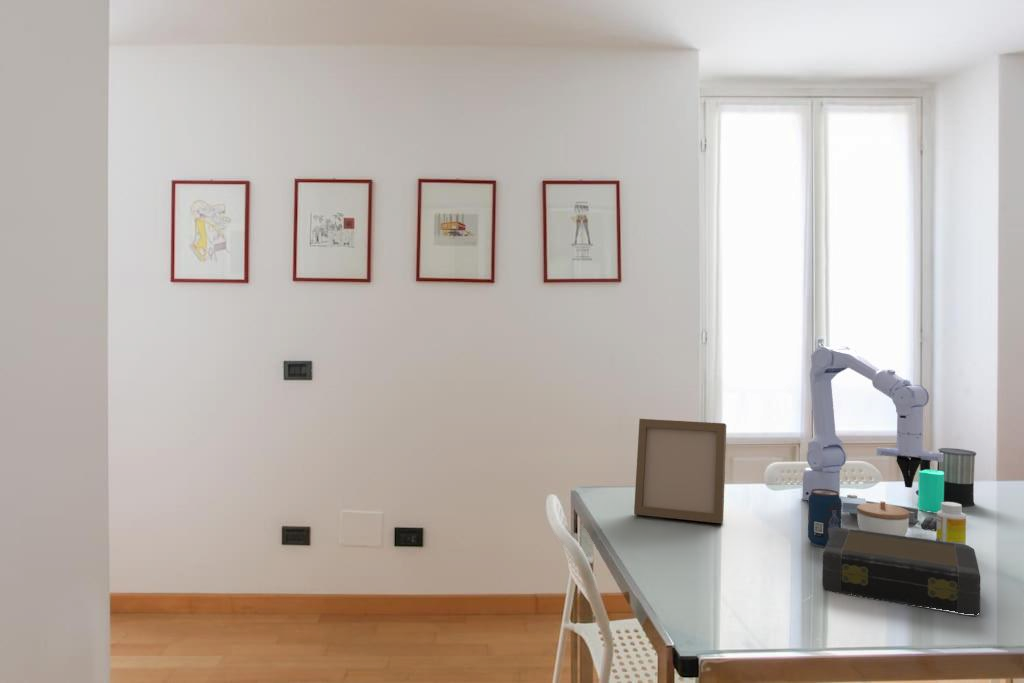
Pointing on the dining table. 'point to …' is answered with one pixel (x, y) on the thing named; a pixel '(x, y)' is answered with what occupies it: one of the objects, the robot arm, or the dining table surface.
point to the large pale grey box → (912, 511)
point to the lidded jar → (883, 518)
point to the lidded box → (851, 503)
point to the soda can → (823, 515)
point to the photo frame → (681, 470)
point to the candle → (930, 490)
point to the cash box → (902, 570)
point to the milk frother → (956, 475)
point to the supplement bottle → (951, 523)
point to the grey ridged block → (930, 522)
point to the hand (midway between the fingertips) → (908, 486)
